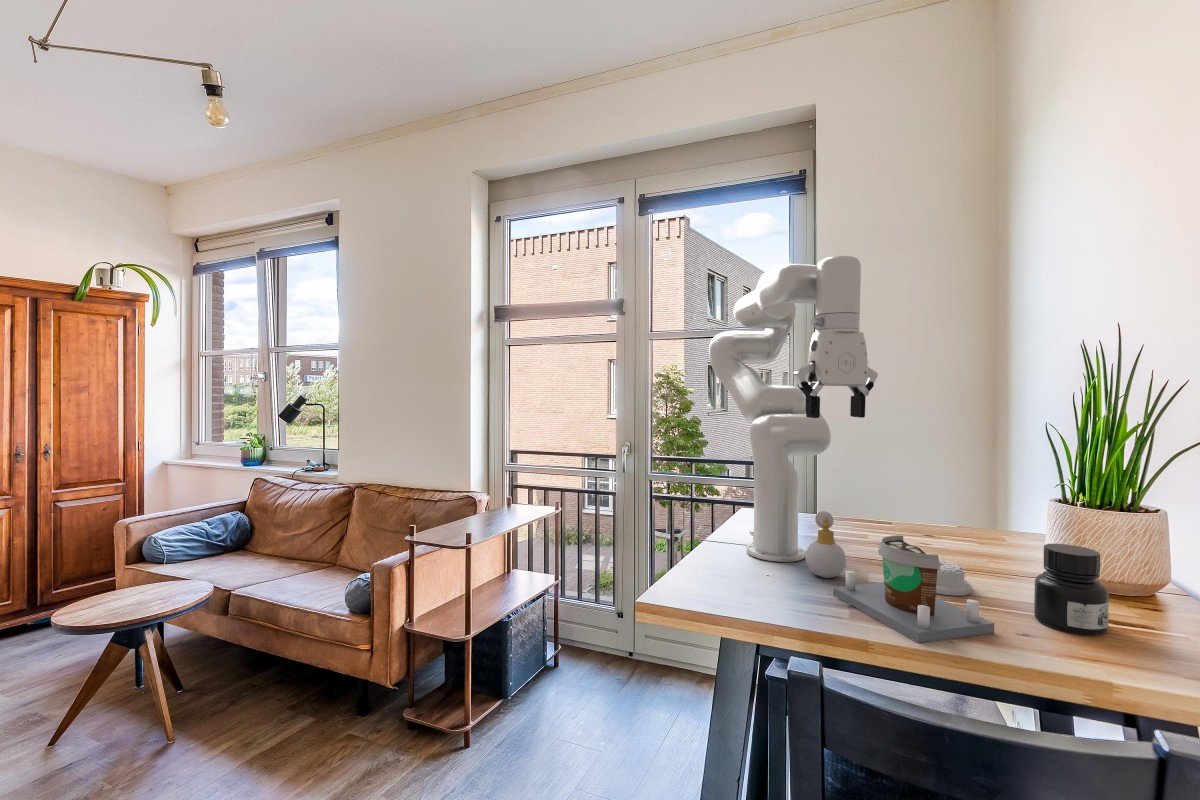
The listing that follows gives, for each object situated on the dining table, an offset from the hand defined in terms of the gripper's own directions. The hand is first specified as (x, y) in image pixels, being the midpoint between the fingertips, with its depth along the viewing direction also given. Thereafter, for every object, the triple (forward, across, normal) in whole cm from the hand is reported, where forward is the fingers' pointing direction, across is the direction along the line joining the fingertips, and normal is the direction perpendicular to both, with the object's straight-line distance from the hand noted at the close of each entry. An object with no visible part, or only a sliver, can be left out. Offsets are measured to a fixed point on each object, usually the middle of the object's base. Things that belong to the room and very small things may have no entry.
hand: (835, 417), depth 102 cm
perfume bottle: (+32, +3, +7) cm, 33 cm away
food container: (+31, +3, -13) cm, 33 cm away
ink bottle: (+32, +26, -24) cm, 47 cm away
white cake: (+32, +20, -5) cm, 38 cm away
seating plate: (+32, +4, -13) cm, 35 cm away
